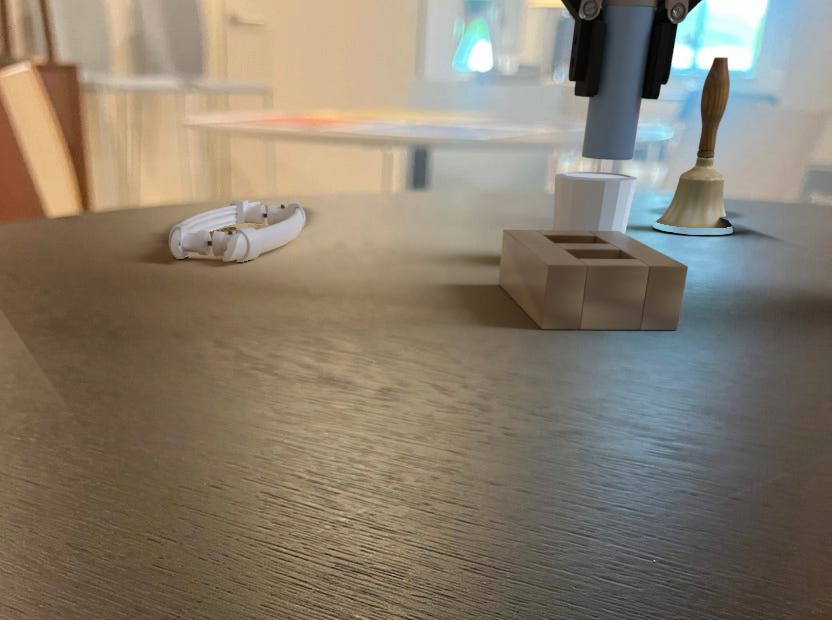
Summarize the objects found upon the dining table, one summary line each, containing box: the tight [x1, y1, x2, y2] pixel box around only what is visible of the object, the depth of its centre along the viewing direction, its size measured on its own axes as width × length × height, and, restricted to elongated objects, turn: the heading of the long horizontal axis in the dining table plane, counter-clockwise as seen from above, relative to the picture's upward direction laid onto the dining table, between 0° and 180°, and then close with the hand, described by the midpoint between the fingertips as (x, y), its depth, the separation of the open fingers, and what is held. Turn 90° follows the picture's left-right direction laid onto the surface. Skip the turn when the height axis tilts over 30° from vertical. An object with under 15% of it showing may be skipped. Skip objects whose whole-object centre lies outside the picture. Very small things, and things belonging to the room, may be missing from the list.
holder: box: [498, 229, 689, 331], centre depth 72 cm, size 9×16×4 cm, turn 3°
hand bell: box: [655, 56, 733, 228], centre depth 104 cm, size 8×8×16 cm
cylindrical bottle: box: [581, 0, 657, 161], centre depth 63 cm, size 3×3×9 cm
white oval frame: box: [168, 199, 307, 263], centre depth 94 cm, size 3×10×25 cm
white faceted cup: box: [553, 171, 638, 235], centre depth 87 cm, size 7×7×7 cm
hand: (615, 94), depth 64 cm, fingers closed on cylindrical bottle, 3 cm apart
